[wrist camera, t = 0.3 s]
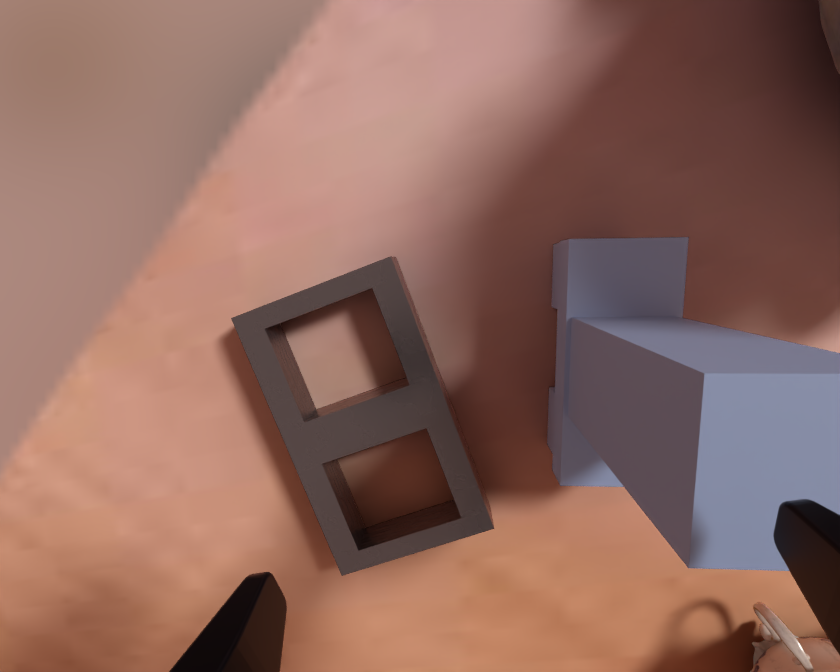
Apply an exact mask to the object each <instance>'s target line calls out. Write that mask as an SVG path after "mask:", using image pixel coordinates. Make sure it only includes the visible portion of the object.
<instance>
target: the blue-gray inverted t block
mask: <svg viewBox="0 0 840 672" xmlns="http://www.w3.org/2000/svg"><path fill="white" fill-rule="evenodd" d="M688 239H689V237H665V238H599V239H567V240H562V241H560V243H557V244H553V274H552V306H551V307H553V308H555V309H558V312H557V342H556V372H555V387H549V403H548V435H547V445H548V447H549V448H550V450H551V452H552V454H553V463H552V470H553V472H554V474H555V476H556V478H557V480H558V482H559V484H560V486H605V487H625V489H626V490H627V491H628V492H629V494H630V495H631V496H632V497H633V499H634V500H635V501H636V503H637V504H638V505H639V506H640V508H641V509H642V510H643V511H644V513H645V514H646V515H647V516H648V518H649V519H650V520H651V521H652V523H653V524H654V525H655V527H656V528H657V529H658V530H659V532H660V533H661V534H662V535H663V537H664V538H665V539H666V540H667V542H668V543H669V544H670V545H671V547H672V548H673V549H674V551H675V552H676V553H677V554H678V556H679V557H680V558H681V559H682V561H683V562H684V563H685V564H686V566H687V567H688V568H703V569H739V570H776V571H789V569H788V567H787V565H786V564H785V562H784V560H783V558H782V557H781V555H780V553H779V551H778V550H777V548H776V545H775V542H774V537H773V533H774V528H775V523H776V518H777V514H778V509H779V506H780V504H781V503H783V502H785V501H792V500H799V499H809V500H812V501H815V502H817V503H819V504H821V505H822V506H824V507H826V508H828V509H830V510H832V511H834V512H835V513H837V514H839V515H840V353H836V352H832V351H827V350H823V349H819V348H814V347H810V346H805V345H801V344H796V343H792V342H787V341H783V340H779V339H774V338H770V337H765V336H761V335H756V334H752V333H747V332H743V331H739V330H734V329H730V328H725V327H721V326H716V325H712V324H707V323H703V322H698V321H694V320H690V319H685V318H683V307H684V293H685V280H686V266H687V253H688Z"/></svg>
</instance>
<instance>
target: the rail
mask: <svg viewBox="0 0 840 672" xmlns="http://www.w3.org/2000/svg"><path fill="white" fill-rule="evenodd" d="M369 289H373V291H374V294H375V296H376V299H377V302H378V304H379V307H380V309H381V312H382V315H383V317H384V320H385V322H386V325H387V327H388V330H389V333H390V335H391V338H392V340H393V343H394V345H395V348H396V351H397V353H398V356H399V358H400V361H401V364H402V366H403V369H404V371H405V374H406V376H407V377H406V378H404V379H401V380H398V381H395V382H392V383H390V384H387V385H384V386H381V387H378V388H376V389H373V390H370V391H367V392H364V393H361V394H359V395H356V396H353V397H350V398H347V399H345V400H342V401H339V402H336V403H333V404H330V405H328V406H325V407H322V408H319V409H316V408H315V406H314V403H313V401H312V398H311V396H310V394H309V391H308V389H307V386H306V384H305V382H304V379H303V377H302V374H301V372H300V370H299V367H298V365H297V363H296V360H295V358H294V355H293V353H292V351H291V348H290V346H289V343H288V341H287V339H286V336H285V334H284V331H283V329H282V327H281V324H280V323H283V322H285V321H288V320H290V319H293V318H296V317H298V316H301V315H304V314H306V313H309V312H311V311H314V310H317V309H319V308H322V307H325V306H327V305H330V304H332V303H335V302H338V301H340V300H343V299H346V298H348V297H351V296H353V295H356V294H359V293H361V292H364V291H367V290H369ZM231 319H232V322H233V324H234V326H235V329H236V331H237V333H238V336H239V338H240V340H241V342H242V345H243V347H244V349H245V352H246V354H247V356H248V359H249V361H250V363H251V366H252V368H253V370H254V373H255V375H256V377H257V380H258V382H259V384H260V387H261V389H262V391H263V394H264V396H265V398H266V401H267V403H268V405H269V408H270V410H271V412H272V414H273V417H274V419H275V421H276V424H277V426H278V428H279V431H280V433H281V435H282V438H283V440H284V442H285V445H286V447H287V449H288V452H289V454H290V456H291V459H292V461H293V463H294V466H295V468H296V470H297V473H298V475H299V477H300V480H301V482H302V484H303V486H304V489H305V491H306V493H307V496H308V498H309V500H310V503H311V505H312V507H313V510H314V512H315V514H316V517H317V519H318V521H319V524H320V526H321V528H322V531H323V533H324V535H325V538H326V540H327V542H328V545H329V547H330V549H331V552H332V554H333V556H334V558H335V561H336V563H337V565H338V568H339V570H340V572H341V575H342V576H343V575H346V574H349V573H352V572H356V571H359V570H362V569H365V568H368V567H372V566H375V565H378V564H381V563H385V562H388V561H391V560H394V559H398V558H401V557H404V556H407V555H410V554H414V553H417V552H420V551H423V550H427V549H430V548H433V547H436V546H439V545H443V544H446V543H449V542H452V541H456V540H459V539H462V538H465V537H469V536H472V535H475V534H478V533H481V532H485V531H488V530H491V529H494V525H493V519H492V513H491V508H490V505H489V502H488V499H487V497H486V494H485V491H484V489H483V486H482V484H481V481H480V478H479V476H478V473H477V470H476V468H475V465H474V462H473V460H472V457H471V454H470V452H469V449H468V446H467V444H466V441H465V439H464V436H463V433H462V431H461V428H460V425H459V423H458V420H457V417H456V415H455V412H454V409H453V407H452V404H451V402H450V399H449V396H448V394H447V391H446V388H445V386H444V383H443V380H442V378H441V375H440V372H439V370H438V367H437V365H436V362H435V359H434V357H433V354H432V351H431V349H430V346H429V343H428V341H427V338H426V335H425V333H424V330H423V327H422V325H421V322H420V320H419V317H418V314H417V312H416V309H415V306H414V304H413V301H412V298H411V296H410V293H409V290H408V288H407V285H406V283H405V280H404V277H403V275H402V272H401V269H400V267H399V264H398V261H397V259H396V257H392V256H391V257H388V258H385V259H383V260H380V261H378V262H375V263H373V264H370V265H367V266H365V267H362V268H360V269H357V270H354V271H352V272H349V273H347V274H344V275H342V276H339V277H336V278H334V279H331V280H329V281H326V282H324V283H321V284H318V285H316V286H313V287H311V288H308V289H305V290H303V291H300V292H298V293H295V294H293V295H290V296H287V297H285V298H282V299H280V300H277V301H275V302H272V303H269V304H267V305H264V306H262V307H259V308H256V309H254V310H251V311H249V312H246V313H244V314H241V315H238V316H236V317H233V318H231ZM426 428H427V431H428V433H429V436H430V438H431V441H432V443H433V446H434V449H435V451H436V454H437V456H438V459H439V461H440V464H441V467H442V469H443V472H444V474H445V477H446V480H447V482H448V485H449V487H450V490H451V492H452V495H453V498H454V500H452V501H449V502H445V503H442V504H439V505H436V506H433V507H430V508H427V509H424V510H420V511H417V512H414V513H411V514H408V515H405V516H402V517H399V518H395V519H392V520H389V521H386V522H383V523H380V524H377V525H374V526H371V527H367V528H365V525H364V523H363V521H362V518H361V516H360V513H359V511H358V509H357V506H356V504H355V501H354V499H353V497H352V494H351V492H350V489H349V487H348V485H347V482H346V480H345V478H344V475H343V473H342V470H341V468H340V466H339V463H338V461H337V459H338V458H340V457H343V456H346V455H349V454H352V453H355V452H358V451H361V450H364V449H367V448H370V447H373V446H376V445H379V444H382V443H384V442H387V441H390V440H393V439H396V438H399V437H402V436H405V435H408V434H411V433H414V432H417V431H420V430H423V429H426Z"/></svg>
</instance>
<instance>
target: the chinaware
mask: <svg viewBox="0 0 840 672" xmlns="http://www.w3.org/2000/svg"><path fill="white" fill-rule="evenodd" d="M753 609H754V611H755V613H756V615H757V616H758V618H759V619H760V620H761V621H762V623H763V624H760V625H759V631H760V633H761V635H762V637H763V638H764V639H765V640H763V641H762V642H760V643H757V642H752V645H753V646H754V647H755V652H754V657H753V664H754V667H753V669H752V670H751V671H750V672H840V655H839V654H838V652H837V651H836V649H835V648H834V646H833V645H832V643H831V641H830V640H829V639H824V638H817V637H797V636H795V635H794V634H793V633H792V632H791V631H790V630H789V629H788V627H787V626H786V625H785V624H784V623H783V622H782V621H781V620H780V618H779V617H778V616H777V615H776V614H775V613H774V612H772V611H771V610H770V609H769V608H768V607H767V606H766V605H765V604H763V603H761V602H758V603H756V604H754V605H753Z"/></svg>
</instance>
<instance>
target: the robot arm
mask: <svg viewBox="0 0 840 672" xmlns="http://www.w3.org/2000/svg"><path fill="white" fill-rule="evenodd" d="M773 537H774V542H775V545H776V548H777V550H778V551H779V553H780V555H781V557H782V558H783V560H784V562H785V564H786V565H787V567H788V569H789V571H790V572H791V574H792V576H793V578H794V579H795V581H796V583H797V585H798V586H799V588H800V590H801V592H802V593H803V595H804V597H805V599H806V600H807V602H808V604H809V605H810V607H811V609H812V611H813V612H814V614H815V616H816V618H817V619H818V621H819V623H820V625H821V626H822V628H823V630H824V631H825V633H826V635H827V636H828V638H829V640H830V641H831V643H832V645H833V646H834V648H835V649H836V651H837V652H838V654H839V655H840V515H839V514H837V513H835V512H834V511H832V510H830V509H828V508H826V507H824V506H822V505H821V504H819V503H817V502H815V501H812V500H809V499H799V500H792V501H785V502H783V503H781V504H780V506H779V509H778V514H777V518H776V523H775V528H774V533H773ZM286 611H287V606H286V600H285V597H284V595H283V593H282V591H281V589H280V587H279V586H278V584H277V582H276V580H275V578H274V576H273V575H272V574H271V573H269V572H263V573H256V574H251V575H249V576H247V577H246V578H245V579H244V580H243V581H242V583H241V584H240V585H239V586H238V588H237V589H236V590H235V591H234V592H233V594H232V595H231V596H230V597H229V599H228V600H227V601H226V602H225V604H224V605H223V606H222V607H221V608H220V610H219V611H218V612H217V613H216V615H215V616H214V617H213V618H212V620H211V621H210V622H209V623H208V624H207V626H206V627H205V628H204V629H203V631H202V632H201V633H200V634H199V636H198V637H197V638H196V639H195V641H194V642H193V643H192V644H191V645H190V647H189V648H188V649H187V650H186V652H185V653H184V654H183V655H182V657H181V658H180V659H179V660H178V661H177V663H176V664H175V665H174V666H173V668H172V669H171V670H170V671H169V672H280V664H281V656H282V647H283V638H284V629H285V621H286Z"/></svg>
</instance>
